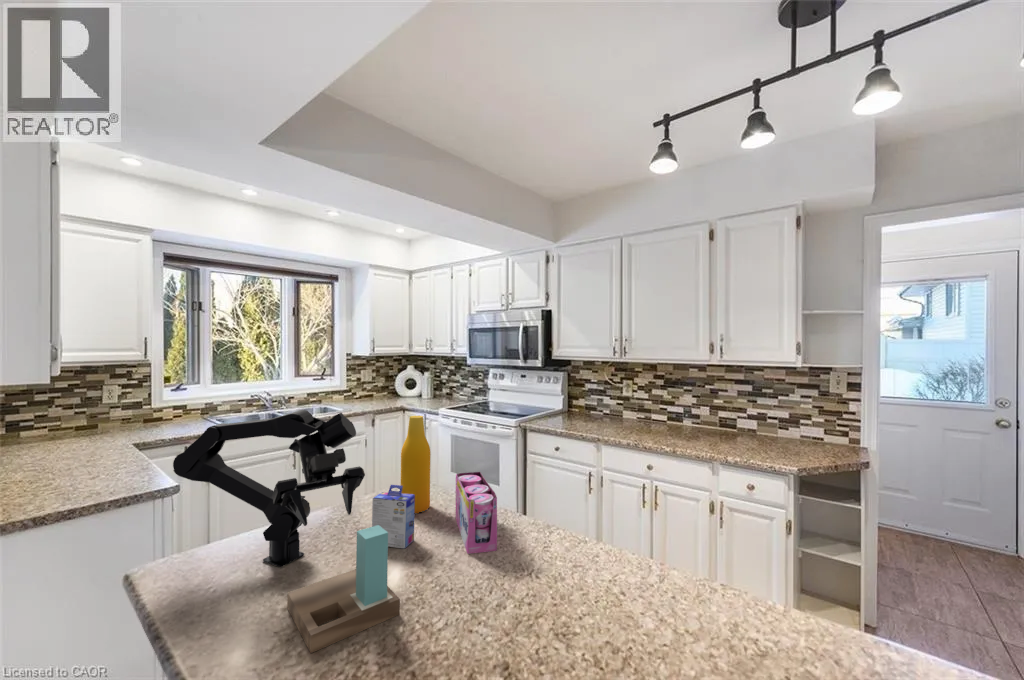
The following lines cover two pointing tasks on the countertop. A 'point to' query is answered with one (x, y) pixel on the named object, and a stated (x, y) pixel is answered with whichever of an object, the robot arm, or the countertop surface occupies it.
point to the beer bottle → (416, 464)
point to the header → (336, 610)
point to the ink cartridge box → (395, 516)
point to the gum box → (476, 512)
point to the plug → (371, 564)
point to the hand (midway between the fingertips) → (328, 519)
